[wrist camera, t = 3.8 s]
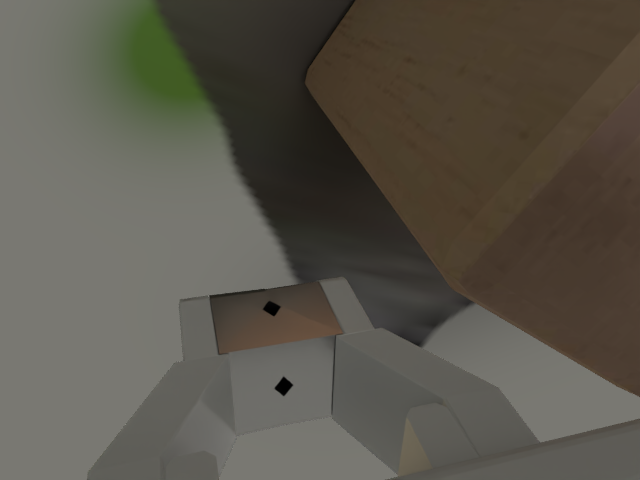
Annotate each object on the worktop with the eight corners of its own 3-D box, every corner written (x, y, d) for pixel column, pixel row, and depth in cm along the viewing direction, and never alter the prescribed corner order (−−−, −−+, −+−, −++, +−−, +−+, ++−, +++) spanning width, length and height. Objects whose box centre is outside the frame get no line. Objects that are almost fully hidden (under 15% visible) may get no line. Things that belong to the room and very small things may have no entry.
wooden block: (421, 170, 34) (656, 419, 17) (293, 80, 29) (441, 297, 12) (534, 33, 31) (958, 168, 14) (412, -92, 26) (822, -118, 9)
